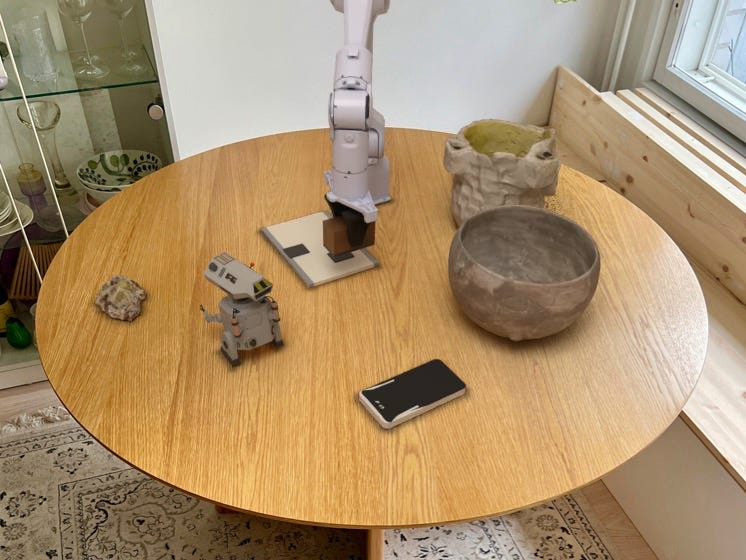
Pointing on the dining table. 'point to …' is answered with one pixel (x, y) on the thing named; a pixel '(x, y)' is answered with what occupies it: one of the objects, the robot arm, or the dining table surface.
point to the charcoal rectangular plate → (341, 257)
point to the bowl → (523, 270)
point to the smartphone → (411, 393)
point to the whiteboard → (314, 250)
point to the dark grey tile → (296, 250)
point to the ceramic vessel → (500, 166)
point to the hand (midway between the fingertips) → (349, 238)
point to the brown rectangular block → (343, 236)
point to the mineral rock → (121, 298)
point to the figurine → (243, 307)
